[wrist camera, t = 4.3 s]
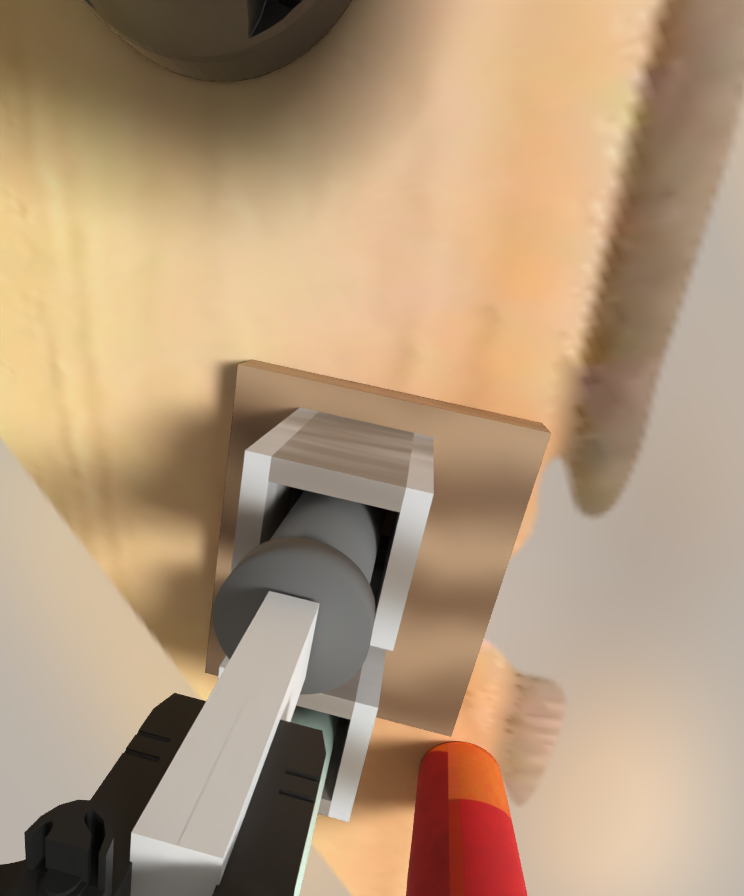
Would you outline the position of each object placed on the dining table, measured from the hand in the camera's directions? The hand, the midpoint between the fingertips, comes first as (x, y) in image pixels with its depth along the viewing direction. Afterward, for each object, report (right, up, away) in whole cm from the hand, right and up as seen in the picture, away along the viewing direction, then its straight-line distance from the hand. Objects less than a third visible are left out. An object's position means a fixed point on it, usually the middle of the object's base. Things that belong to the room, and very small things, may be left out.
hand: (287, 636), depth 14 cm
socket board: (+2, -1, +15) cm, 15 cm away
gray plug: (+1, +3, +11) cm, 11 cm away
